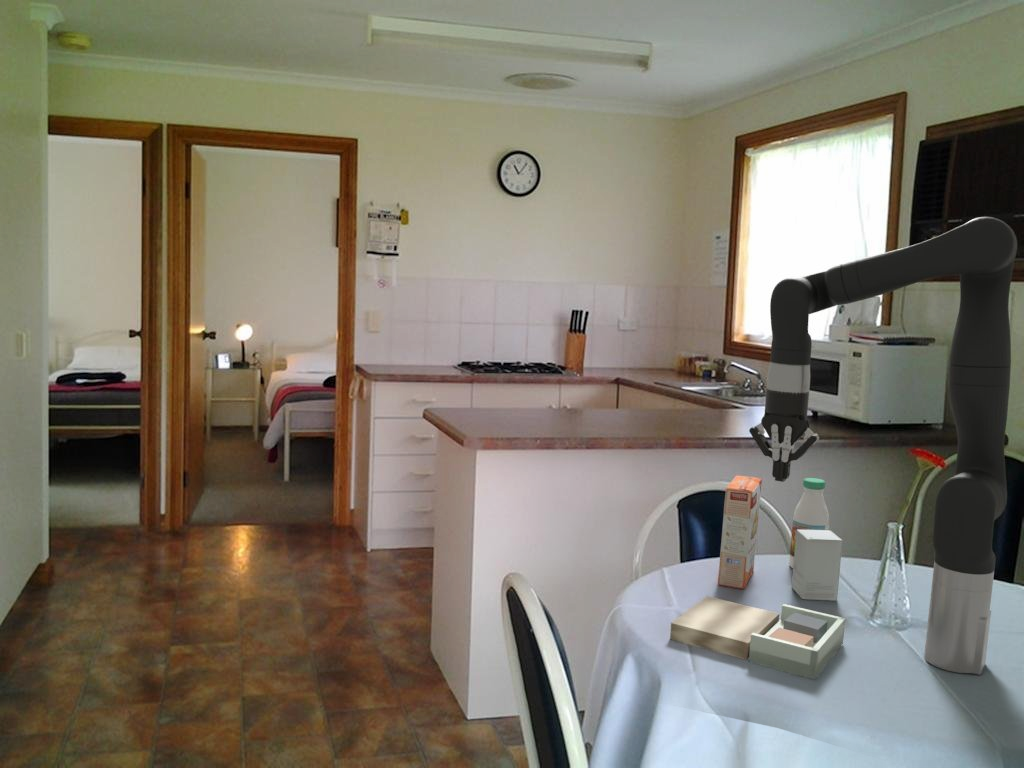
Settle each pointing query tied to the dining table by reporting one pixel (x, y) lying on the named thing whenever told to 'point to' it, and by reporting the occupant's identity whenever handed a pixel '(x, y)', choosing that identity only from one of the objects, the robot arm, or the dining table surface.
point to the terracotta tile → (793, 637)
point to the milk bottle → (809, 511)
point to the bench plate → (722, 626)
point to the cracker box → (739, 531)
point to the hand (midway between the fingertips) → (780, 480)
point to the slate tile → (806, 625)
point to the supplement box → (817, 564)
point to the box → (798, 646)
